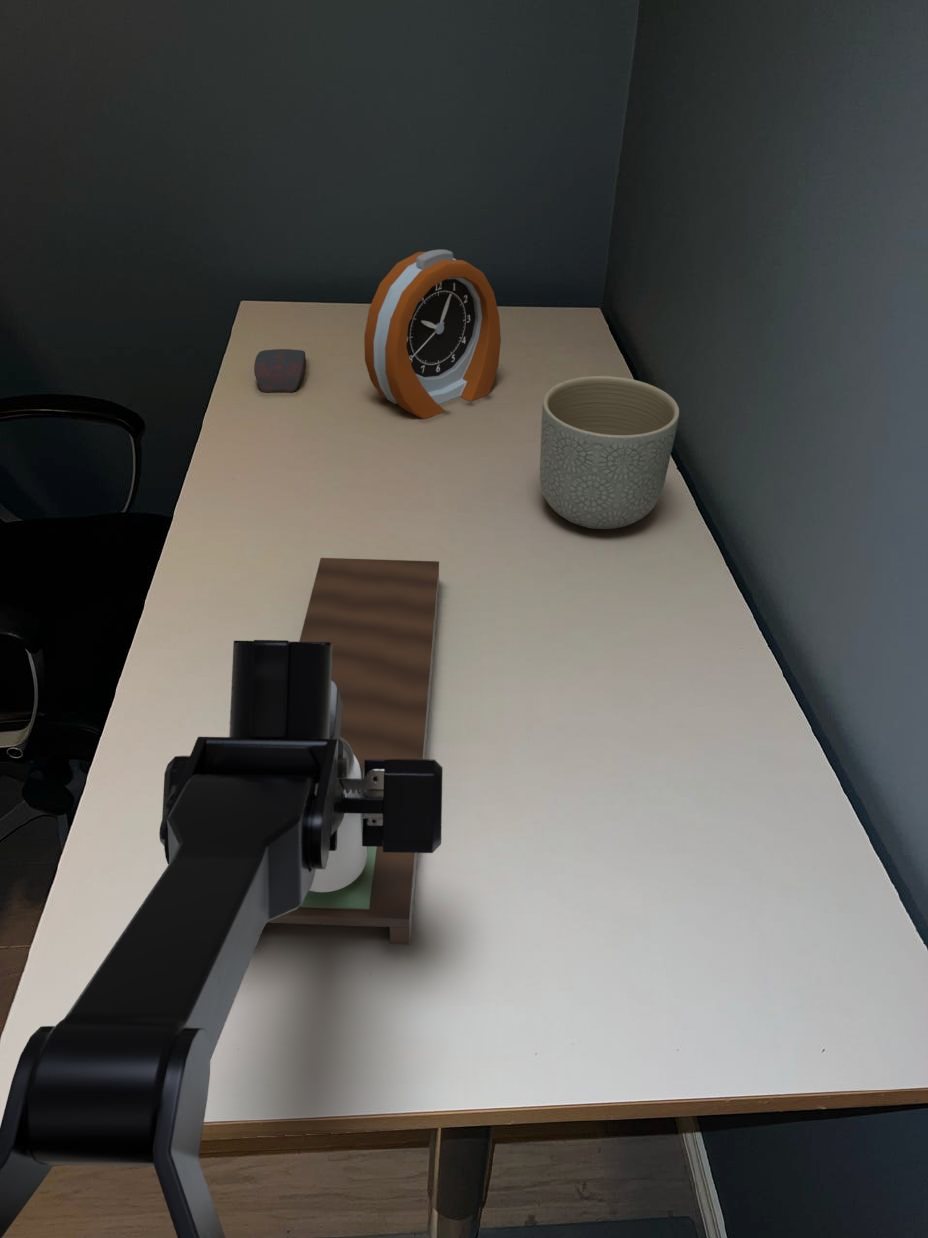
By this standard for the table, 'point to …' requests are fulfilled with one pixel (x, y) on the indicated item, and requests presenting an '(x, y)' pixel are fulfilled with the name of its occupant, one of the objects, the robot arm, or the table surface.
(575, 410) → the planter
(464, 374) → the alarm clock
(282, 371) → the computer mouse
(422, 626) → the shelf
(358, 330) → the table surface
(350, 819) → the can
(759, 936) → the table surface
